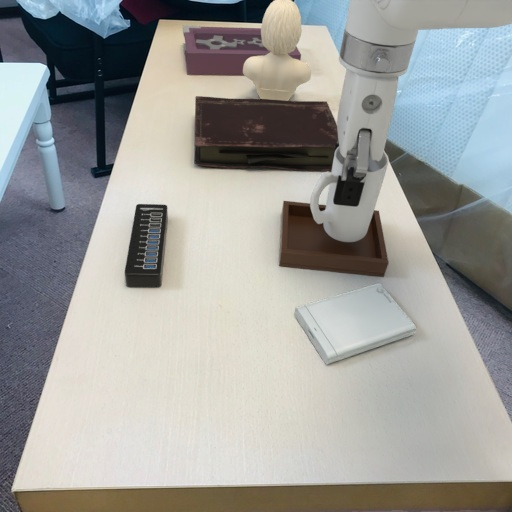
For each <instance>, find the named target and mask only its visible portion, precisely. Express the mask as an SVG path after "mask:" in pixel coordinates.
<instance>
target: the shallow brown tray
mask: <svg viewBox="0 0 512 512" xmlns="http://www.w3.org/2000/svg"><path fill="white" fill-rule="evenodd" d="M318 205H319V210H320V211H324V210H325V209H326V204H320V203H318ZM278 261H279V262H278V266H279V267H284V268H285V267H286V268H295V269H303V270H314V271H315V270H316V271H323V272H333V273H340V274H341V273H343V274H350V275H351V274H352V275H361V276H372V277H379V278H384V277H385V276H386V272H387V269H388V266H389V258H388V253H387V247H386V242H385V237H384V231H383V225H382V221H381V215H380V210H375V209H374V212H373V215H372V219H371V221H370V224H369V227H368V231H367V233H366V235H365V236H364V237H363V238H362V239H361V240H358V241H355V242H342V241H339V240H336V239H334V238H332V237H331V236H329V235H328V234H327V233H326V231H325V229H324V226H323V223H322V224H318V223H317V222H316V221H315V220H314V218H313V215H312V211H311V208H310V202H309V203H308V202H300V201H289V200H283V201H282V208H281V217H280V238H279V259H278Z"/></svg>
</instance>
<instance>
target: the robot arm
mask: <svg viewBox="0 0 512 512" xmlns="http://www.w3.org/2000/svg"><path fill="white" fill-rule="evenodd" d="M508 25H509V26H510V25H512V0H349V2H348V9H347V14H346V19H345V24H344V29H343V34H342V39H341V46H340V50H339V55H338V62H339V63H340V65H342V67H344V68H345V69H346V71H345V74H344V79H343V83H342V89H341V93H340V94H341V95H340V99H339V103H338V111H337V118H336V124H337V130H338V138H337V143H339V144H337V143H336V144H335V148H334V153H333V158H332V163H331V170H330V172H331V171H332V165H333V159H334V154H335V150H336V149H337V148H338V147H339V148H340V153H341V155H342V156H343V157H344V161H343V168H342V174H341V176H340V175H339V176H338V181H337V185H336V189H335V194H334V198H333V203H334V204H335V205H344V206H353V207H357V206H358V205H359V202H360V198H361V195H362V191H363V187H364V184H365V179H366V173H367V169H368V161H369V154H370V151H371V156H372V160H375V161H380V160H381V159H382V156H383V152H385V148H386V144H387V139H388V135H389V131H390V126H391V122H392V118H393V113H394V108H395V104H396V99H397V93H398V84H399V77H402V76H404V75H405V74H407V72H408V69H409V65H410V62H411V58H412V54H413V51H414V48H415V44H416V40H417V37H418V35H419V31H424V30H426V31H428V30H433V31H434V30H444V29H445V30H446V29H447V30H449V29H451V30H452V29H492V28H500V27H505V26H508ZM351 149H356V154H349V152H350V151H351ZM350 159H351V160H355V164H354V167H350V168H349V170H348V167H349V160H350Z"/></svg>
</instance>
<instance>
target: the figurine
mask: <svg viewBox="0 0 512 512" xmlns="http://www.w3.org/2000/svg"><path fill="white" fill-rule="evenodd" d="M262 17H263V18H262V21H261V27H260V28H261V37H262V43H263V45H264V47H266V48H267V50H269V51H271V52H270V53H268V54H267V55H264V56H263V55H262V56H253V57H250V58H248V59H247V60H246V61H245V63H244V66H243V74H244V75H243V76H244V77H246V78H247V79H249V80H250V81H251V82H252V84H253V85H254V87H255V91H256V93H257V95H258V97H259V99H270V100H284V101H290V99H291V98H292V96H293V95H294V93H295V92H296V90H297V88H298V87H300V86H301V85H304V84H305V83H308V82H310V80H311V79H312V68H311V66H310V65H309V63H307V62H306V61H304V60H298V59H293V58H292V57H290V56H289V55H288V53H290V52H292V51H294V50H295V48H296V46H297V45H298V44H299V42H300V39H301V36H302V32H303V29H302V16H301V12H300V9H299V7H298V5H297V4H296V3H295V2H294V1H293V0H273V1H272V2H270V4H269V5H268V7H267V8H266V10H265V13H264V14H263V16H262Z"/></svg>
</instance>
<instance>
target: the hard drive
mask: <svg viewBox="0 0 512 512" xmlns="http://www.w3.org/2000/svg"><path fill="white" fill-rule="evenodd" d="M293 314H294V317H295V318H296V320H297V321H298V323H299V324H300V326H301V327H302V329H303V331H304V333H305V334H306V336H307V337H308V339H309V341H310V342H311V344H312V345H313V347H314V348H315V350H316V351H317V353H318V354H319V355H318V356H320V358H321V360H322V361H323V362H324V364H325V365H329V364H332V363H335V362H338V361H341V360H345V359H347V358H350V357H352V356H356V355H358V354H361V353H364V352H367V351H370V350H373V349H375V348H379V347H382V346H385V345H387V344H390V343H393V342H395V341H399V340H402V339H405V338H407V337H410V336H413V335H415V334H416V331H417V325H416V324H415V323H414V322H413V320H412V319H411V318H410V316H409V315H407V313H406V312H405V311H404V309H402V308H401V306H400V304H398V303H397V301H396V300H395V299H394V298H393V297H392V295H391V294H390V293H389V292H388V291H387V290H386V289H385V287H384V286H383V285H382V284H381V283H379V282H377V283H374V284H370V285H367V286H364V287H360V288H357V289H354V290H350V291H347V292H342V293H340V294H337V295H336V294H335V295H333V296H329V297H326V298H322V299H320V300H315V301H313V302H309V303H306V304H303V305H300V306H296V307H295V309H294V313H293Z"/></svg>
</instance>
